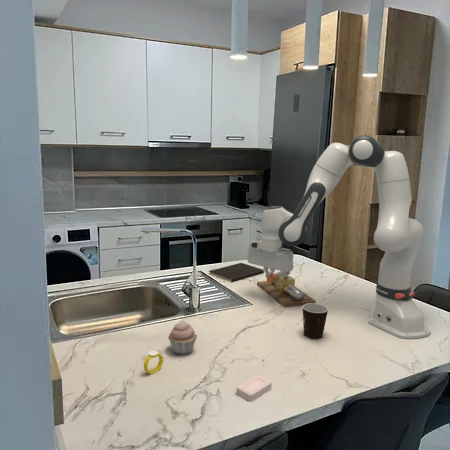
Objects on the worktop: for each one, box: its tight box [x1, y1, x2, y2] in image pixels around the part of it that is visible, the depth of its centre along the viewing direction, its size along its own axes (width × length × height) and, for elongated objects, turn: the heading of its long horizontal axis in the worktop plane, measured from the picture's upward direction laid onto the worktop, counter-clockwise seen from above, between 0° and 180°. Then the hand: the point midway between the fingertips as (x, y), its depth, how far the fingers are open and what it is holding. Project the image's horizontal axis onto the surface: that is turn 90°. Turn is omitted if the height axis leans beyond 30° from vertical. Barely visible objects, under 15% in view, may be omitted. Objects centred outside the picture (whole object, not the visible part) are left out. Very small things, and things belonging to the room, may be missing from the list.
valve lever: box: [266, 270, 291, 283], centre depth 182 cm, size 17×3×2 cm, turn 146°
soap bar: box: [235, 374, 272, 402], centre depth 116 cm, size 5×9×2 cm, turn 136°
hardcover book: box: [208, 262, 265, 283], centre depth 216 cm, size 16×23×2 cm
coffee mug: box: [302, 303, 329, 340], centre depth 148 cm, size 12×9×10 cm
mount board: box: [256, 280, 317, 308], centre depth 189 cm, size 28×14×2 cm, turn 19°
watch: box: [143, 350, 164, 375], centre depth 124 cm, size 6×3×6 cm, turn 139°
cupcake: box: [167, 320, 198, 356], centre depth 136 cm, size 9×9×10 cm
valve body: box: [273, 272, 304, 302], centre depth 188 cm, size 26×6×8 cm, turn 19°
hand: (268, 277), depth 180 cm, fingers closed
